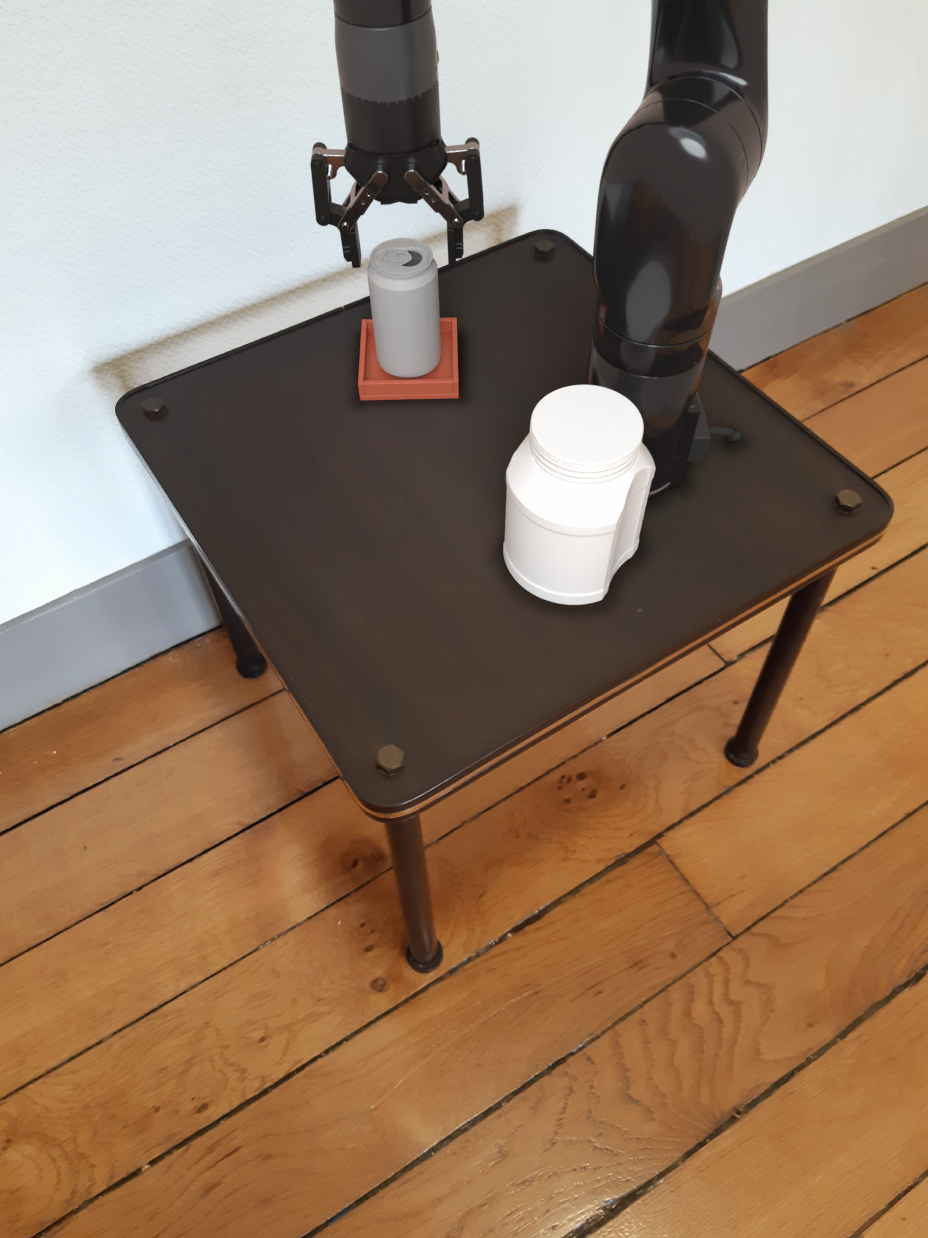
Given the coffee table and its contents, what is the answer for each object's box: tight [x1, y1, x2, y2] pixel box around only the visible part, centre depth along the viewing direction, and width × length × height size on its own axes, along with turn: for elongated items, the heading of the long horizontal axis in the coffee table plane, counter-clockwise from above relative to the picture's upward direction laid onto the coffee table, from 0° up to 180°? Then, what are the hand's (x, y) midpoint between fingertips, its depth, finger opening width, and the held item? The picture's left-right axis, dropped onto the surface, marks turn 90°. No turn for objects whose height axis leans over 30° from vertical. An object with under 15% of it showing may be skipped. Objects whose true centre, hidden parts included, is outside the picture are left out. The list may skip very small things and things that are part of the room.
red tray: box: [357, 316, 460, 401], centre depth 93 cm, size 10×10×2 cm
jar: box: [502, 384, 655, 606], centre depth 75 cm, size 12×10×15 cm
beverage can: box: [366, 237, 441, 378], centre depth 89 cm, size 6×6×12 cm
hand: (404, 261), depth 84 cm, fingers open, 8 cm apart
